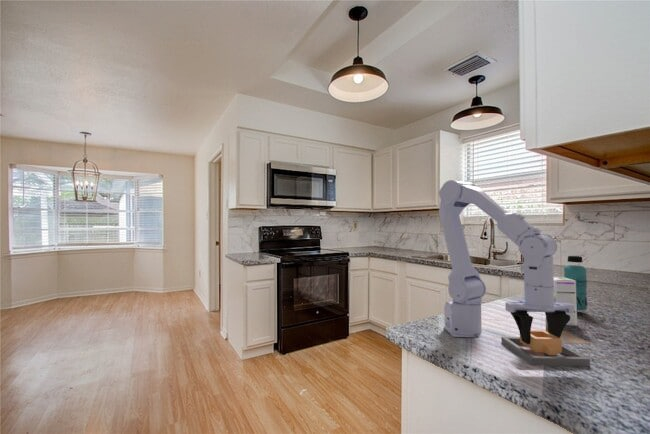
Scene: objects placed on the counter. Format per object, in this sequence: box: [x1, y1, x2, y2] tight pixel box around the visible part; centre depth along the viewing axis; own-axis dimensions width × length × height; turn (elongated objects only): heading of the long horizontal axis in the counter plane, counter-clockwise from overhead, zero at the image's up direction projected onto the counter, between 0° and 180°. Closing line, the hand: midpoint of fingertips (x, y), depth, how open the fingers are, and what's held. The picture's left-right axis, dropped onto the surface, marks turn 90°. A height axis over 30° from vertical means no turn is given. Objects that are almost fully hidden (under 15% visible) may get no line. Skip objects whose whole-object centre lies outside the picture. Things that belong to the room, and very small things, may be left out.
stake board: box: [545, 317, 592, 345], centre depth 80 cm, size 10×9×6 cm
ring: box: [519, 329, 563, 356], centre depth 70 cm, size 7×6×3 cm
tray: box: [501, 336, 591, 371], centre depth 70 cm, size 12×12×2 cm
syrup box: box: [554, 276, 578, 326], centre depth 92 cm, size 6×6×14 cm
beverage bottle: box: [563, 255, 588, 311], centre depth 106 cm, size 6×7×20 cm
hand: (539, 342), depth 70 cm, fingers closed on ring, 6 cm apart
